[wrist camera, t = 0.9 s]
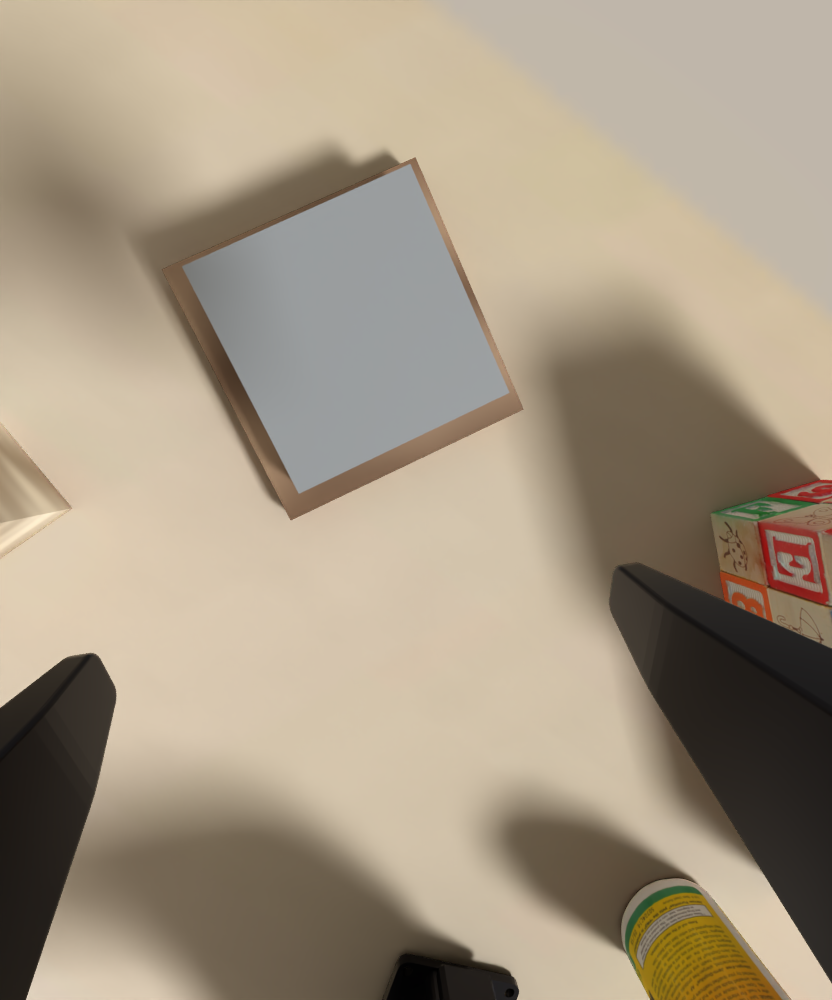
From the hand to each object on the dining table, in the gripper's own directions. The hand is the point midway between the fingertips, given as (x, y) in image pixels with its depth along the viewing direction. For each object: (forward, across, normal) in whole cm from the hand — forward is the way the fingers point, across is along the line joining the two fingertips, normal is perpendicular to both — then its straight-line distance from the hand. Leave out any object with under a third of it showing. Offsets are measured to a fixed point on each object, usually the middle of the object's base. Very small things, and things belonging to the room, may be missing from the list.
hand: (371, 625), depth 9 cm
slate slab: (+15, -1, -2) cm, 15 cm away
